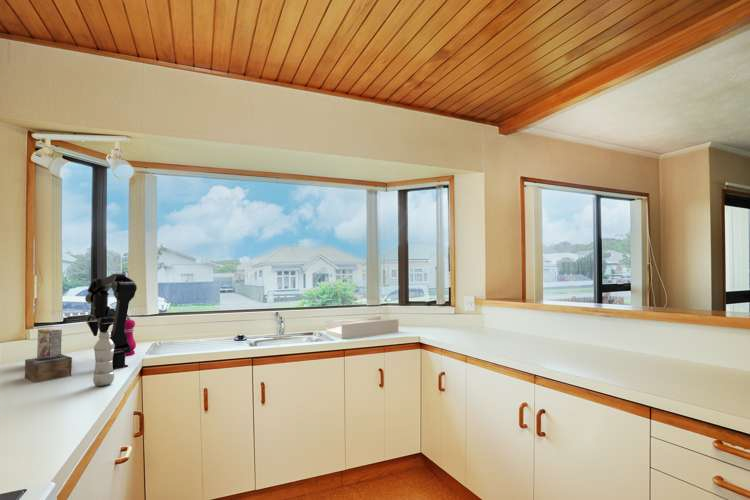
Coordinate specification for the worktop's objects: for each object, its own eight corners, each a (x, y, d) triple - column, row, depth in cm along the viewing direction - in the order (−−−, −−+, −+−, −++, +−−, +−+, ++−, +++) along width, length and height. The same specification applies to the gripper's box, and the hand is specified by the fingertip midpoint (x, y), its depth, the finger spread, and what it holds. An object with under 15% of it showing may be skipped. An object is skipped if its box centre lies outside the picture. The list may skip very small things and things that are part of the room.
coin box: (60, 371, 167) (61, 354, 168) (71, 375, 161) (71, 357, 161) (24, 378, 157) (25, 359, 158) (34, 382, 151) (35, 363, 151)
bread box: (341, 339, 243) (341, 324, 244) (326, 335, 262) (326, 321, 262) (398, 333, 268) (398, 319, 268) (380, 329, 286) (380, 316, 287)
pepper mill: (127, 356, 196) (128, 317, 197) (115, 356, 198) (117, 317, 199) (139, 353, 203) (140, 315, 205) (127, 353, 205) (128, 315, 206)
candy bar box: (35, 364, 181) (37, 329, 182) (48, 362, 186) (49, 327, 187) (48, 366, 177) (50, 330, 178) (61, 364, 181) (62, 329, 182)
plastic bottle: (118, 383, 149) (119, 331, 150) (100, 388, 142) (102, 334, 143) (106, 382, 151) (107, 330, 152) (88, 387, 144) (90, 333, 145)
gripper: (127, 304, 188) (126, 336, 188) (110, 302, 199) (109, 332, 198) (101, 305, 179) (100, 339, 178) (85, 304, 190) (84, 336, 189)
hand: (99, 336), depth 186 cm, fingers open, 9 cm apart
